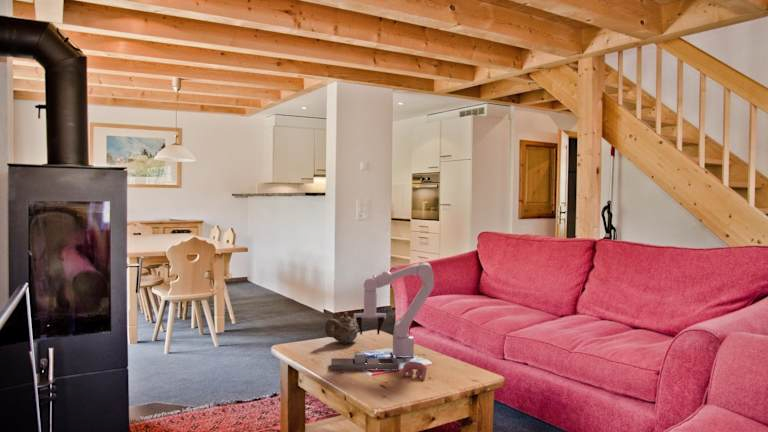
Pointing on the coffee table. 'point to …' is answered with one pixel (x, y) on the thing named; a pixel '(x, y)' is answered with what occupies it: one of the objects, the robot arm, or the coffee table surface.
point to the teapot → (342, 329)
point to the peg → (359, 358)
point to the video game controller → (414, 365)
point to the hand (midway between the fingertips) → (369, 333)
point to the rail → (372, 363)
